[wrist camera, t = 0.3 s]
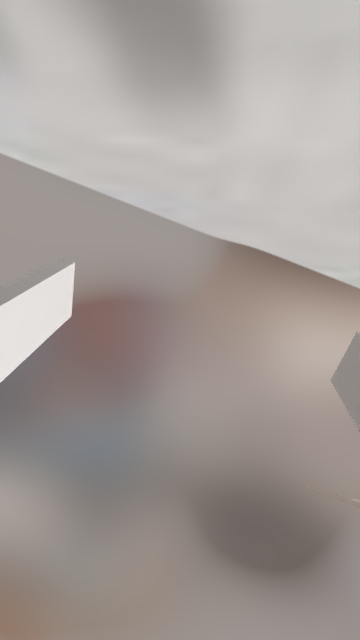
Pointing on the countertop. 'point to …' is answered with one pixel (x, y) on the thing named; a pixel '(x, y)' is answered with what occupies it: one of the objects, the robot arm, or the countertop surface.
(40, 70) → the countertop surface
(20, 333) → the robot arm
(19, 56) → the countertop surface
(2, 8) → the countertop surface
